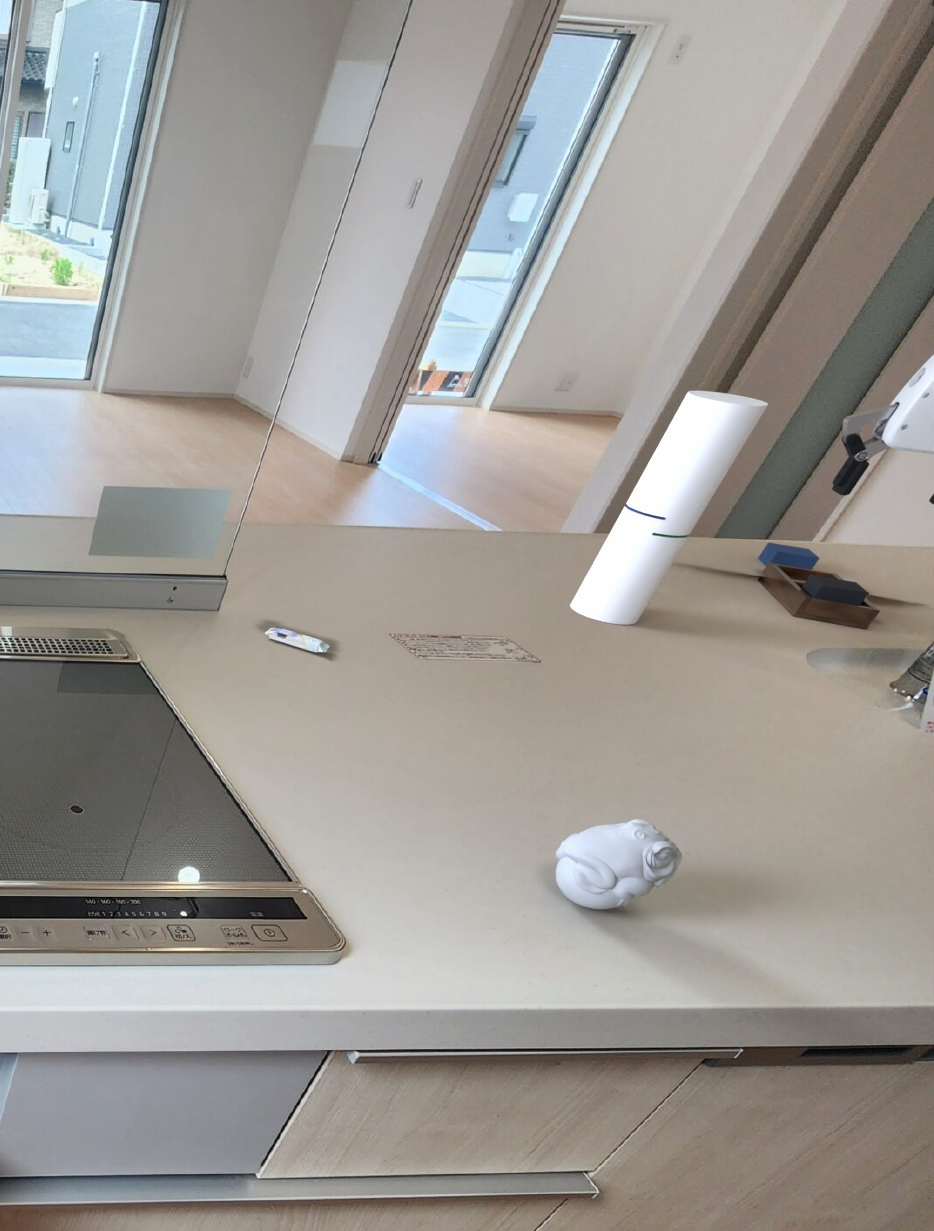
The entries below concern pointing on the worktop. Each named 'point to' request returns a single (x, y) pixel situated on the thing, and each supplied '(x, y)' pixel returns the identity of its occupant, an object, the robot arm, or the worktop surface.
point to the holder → (813, 608)
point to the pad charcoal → (834, 590)
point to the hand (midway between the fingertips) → (887, 499)
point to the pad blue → (788, 556)
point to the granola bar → (297, 640)
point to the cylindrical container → (666, 504)
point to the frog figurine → (615, 863)
